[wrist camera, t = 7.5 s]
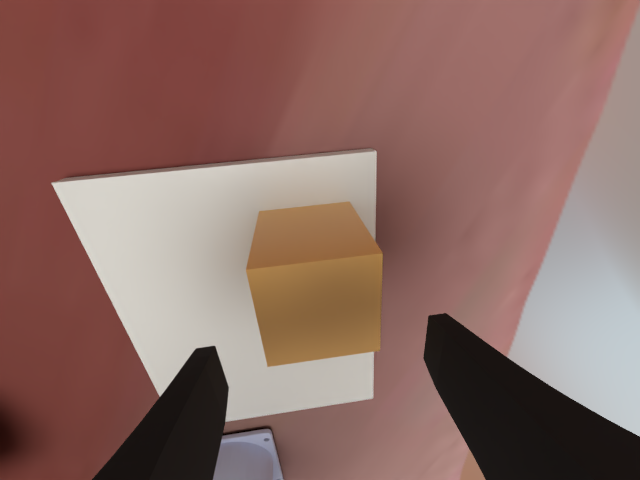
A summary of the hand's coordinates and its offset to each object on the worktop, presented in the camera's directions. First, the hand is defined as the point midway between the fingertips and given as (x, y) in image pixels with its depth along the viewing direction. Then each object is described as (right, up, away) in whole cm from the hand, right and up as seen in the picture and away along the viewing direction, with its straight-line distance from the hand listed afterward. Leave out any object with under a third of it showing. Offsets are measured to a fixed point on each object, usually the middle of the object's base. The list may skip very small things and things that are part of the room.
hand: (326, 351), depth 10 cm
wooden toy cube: (-1, +3, +7) cm, 8 cm away
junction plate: (-5, -1, +10) cm, 11 cm away
